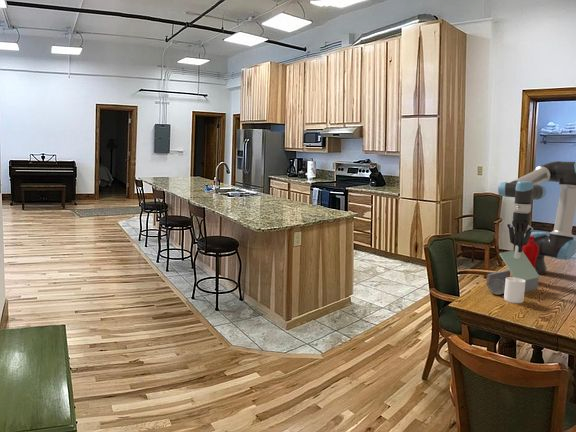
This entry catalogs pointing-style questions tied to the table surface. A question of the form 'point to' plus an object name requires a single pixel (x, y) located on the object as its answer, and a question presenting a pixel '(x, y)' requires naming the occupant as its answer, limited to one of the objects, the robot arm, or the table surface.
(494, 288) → the mug
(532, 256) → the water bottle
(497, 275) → the grey long flat pieces
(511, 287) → the cup
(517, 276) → the lid
